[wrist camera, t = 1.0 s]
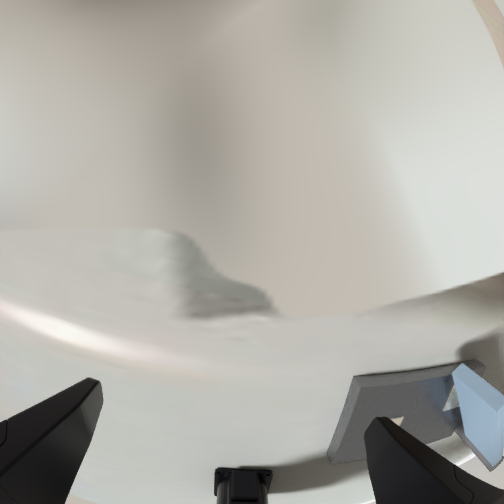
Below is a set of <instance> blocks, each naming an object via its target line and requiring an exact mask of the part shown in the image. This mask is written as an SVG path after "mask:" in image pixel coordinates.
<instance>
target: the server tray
mask: <svg viewBox="0 0 504 504" xmlns="http://www.w3.org/2000/svg"><path fill="white" fill-rule="evenodd" d="M462 363H463V364H464V365H466V366H467V367H468V368H470V369H471V370H472V371H474V372H475V373H476V374H477V375H479V376H480V377H481V376H482V374H483V371H484V369H485V365H483V364H482V363H481V362H479V361H478V360H471V361H466V362H462ZM462 363H457V364H451V365H446V366H440V367H434V368H428V369H421V370H414V371H406V372H398V373H389V374H378V375H366V376H353V379H352V383H351V386H350V389H349V392H348V396H347V399H346V402H345V405H344V408H343V411H342V414H341V417H340V419H339V422H338V425H337V428H336V430H335V433H334V436H333V438H332V441H331V443H330V446H329V448H328V451H327V455H328V457H329V460H330V463H331V464H339V463H346V462H353V461H359V460H364V459H367V456H366V449H365V443H364V432H365V430H366V429H367V427H368V426H369V424H370V423H371V421H372V420H373V418H374V417H377V416H386V417H388V418H389V419H390V420H392V421H393V422H395V423H396V424H397V425H399V426H400V427H401V428H403V429H404V430H406V431H407V432H408V433H410V434H411V435H412V436H414V437H415V438H417V439H418V440H420V441H421V442H422V443H424V444H428V443H431V442H435V441H437V440H440V439H443V438H446V437H449V436H451V435H452V434H453V432H454V430H455V429H456V427H457V425H458V423H459V422H460V420H461V418H462V415H461V410H460V406H459V401H458V396H457V392H456V388H455V384H454V380H453V376H452V372H453V371H454V370H455V369H456V368H457V367H458V366H459V365H461V364H462Z"/></svg>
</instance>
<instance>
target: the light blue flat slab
mask: <svg viewBox="0 0 504 504" xmlns="http://www.w3.org/2000/svg"><path fill="white" fill-rule="evenodd" d="M452 376H453V380H454V384H455V388H456V392H457V396H458V401H459V406H460V410H461V415H462V418H461V420H460V422H459V423H458V425H457V427H456V429H455V430H454V431H455V432H456V433H457V434H458V435H459V436H460V438H461V439H462V440H463V441H464V442H465V443H466V444H467V446H468V447H469V448H470V449H471V450H472V451H473V452H474V454H475V455H476V456H477V457H478V458H479V459H480V460H481V462H482V463H483V464H484V465H485V466H486V468H487V469H488V470H489V471H490V472H491V471H493V470H494V469H495V468H496V467H497V466H498V465H499V464H500V463H501V462H502V461H503V458H504V457H503V456H502V454H503V448H504V395H503V394H502V393H500V392H499V391H498V390H497V389H495V388H494V387H493V386H492V385H490V384H489V383H488V382H486V381H485V380H484V379H483V378H481V377H480V376H479V375H477V374H476V373H475V372H474V371H472V370H471V369H470V368H468V367H467V366H466V365H464V364H463V363H462V364H461V365H459V366H458V367H457V368H456V369H455V370H454V371H453V372H452Z"/></svg>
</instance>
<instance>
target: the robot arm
mask: <svg viewBox="0 0 504 504" xmlns="http://www.w3.org/2000/svg"><path fill="white" fill-rule="evenodd" d="M102 405H103V393H102V386H101V382H100V381H99V380H96V379H93V378H86V379H84V380H82V381H80V382H78V383H76V384H75V385H73V386H71V387H69V388H67V389H65V390H63V391H61V392H59V393H57V394H56V395H54V396H52V397H50V398H48V399H46V400H44V401H42V402H40V403H38V404H36V405H34V406H32V407H30V408H28V409H26V410H24V411H22V412H20V413H18V414H16V415H14V416H12V417H10V418H8V420H4V421H2V422H0V504H65V502H66V499H67V497H68V494H69V492H70V489H71V487H72V484H73V482H74V479H75V477H76V475H77V472H78V470H79V468H80V465H81V463H82V461H83V458H84V456H85V454H86V452H87V449H88V447H89V445H90V442H91V440H92V437H93V433H94V430H95V427H96V424H97V421H98V418H99V414H100V411H101V408H102ZM364 443H365V449H366V456H367V464H368V470H369V475H370V479H371V483H372V487H373V491H374V495H375V500H376V504H504V490H503V489H499V488H497V487H494V486H492V485H490V484H488V483H486V482H484V481H482V480H480V479H478V478H476V477H474V476H472V475H470V474H469V473H467V472H466V471H464V470H462V469H461V468H459V467H458V466H456V465H455V464H453V463H452V462H450V461H449V460H447V459H446V458H444V457H443V456H441V455H440V454H438V453H437V452H435V451H434V450H432V449H431V448H430V447H428V446H427V445H425V444H424V443H422V442H421V441H420V440H418V439H417V438H415V437H414V436H412V435H411V434H410V433H408V432H407V431H406V430H404V429H403V428H401V427H400V426H399V425H397V424H396V423H395V422H393V421H392V420H390V419H389V418H388V417H386V416H377V417H374V418H373V420H372V421H371V423H370V424H369V426H368V427H367V429H366V430H365V432H364ZM272 475H273V474H272V471H270V470H234V469H215V481H214V495H215V496H217V504H268V497H267V493H268V490H269V486H270V483H271V479H272Z"/></svg>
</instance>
